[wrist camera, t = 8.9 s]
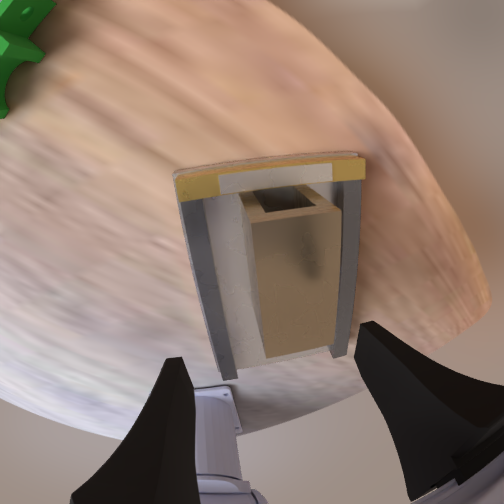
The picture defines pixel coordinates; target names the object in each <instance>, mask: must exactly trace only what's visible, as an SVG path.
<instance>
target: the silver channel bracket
mask: <svg viewBox="0 0 504 504" xmlns="http://www.w3.org/2000/svg"><path fill="white" fill-rule="evenodd" d="M172 176H173V181H174V187H175V192H176V197H177V203H178V208H179V213H180V218H181V223H182V228H183V233H184V237H185V242H186V247H187V251H188V256H189V260H190V264H191V269H192V273H193V277H194V281H195V286H196V290H197V294H198V298H199V302H200V306H201V310H202V314H203V317H204V321H205V325H206V329H207V332H208V336H209V340H210V343H211V347H212V351H213V354H214V358H215V361H216V365H217V368H218V371H219V372H221V375H222V378H223V381H225V380H232V379H238V375H237V369H243V368H249V367H255V366H260V365H266V364H271V363H276V362H281V361H286V360H291V359H296V358H300V357H305V356H309V355H313V354H317V353H322V352H326V351H330V353H331V355H332V357H333V358H337V357H341V356H345V355H346V354H347V348H348V342H349V335H350V328H351V321H352V314H353V306H354V297H355V288H356V278H357V267H358V254H359V239H360V219H361V179H365V158H361V157H358V153H355V152H352V151H341V152H323V153H308V154H296V155H285V156H275V157H265V158H256V159H248V160H240V161H233V162H226V163H219V164H212V165H206V166H200V167H194V168H188V169H182V170H177V171H174V172H173V174H172ZM297 185H307V186H309V187H310V188H311V189H313V190H314V191H316V192H317V193H318V194H320V195H321V196H323V197H324V198H325V199H327V200H328V201H329V202H331V203H332V204H333V205H335V206H336V207H337V208H339V209H340V210H341V211H342V216H341V255H340V275H339V291H338V304H337V316H336V327H335V337H334V344H331V345H327V346H323V347H319V348H315V349H310V350H306V351H302V352H297V353H292V354H288V355H283V356H278V357H273V358H268V359H266V356H265V352H264V348H263V345H262V341H261V337H260V333H259V329H258V325H257V321H256V317H255V313H254V309H253V303H252V296H251V288H250V281H249V273H248V265H247V257H246V250H245V242H244V234H243V226H242V218H241V210H240V202H239V194H238V193H243V192H250V191H252V192H253V193H254V195H255V196H256V198H257V200H258V201H259V203H260V205H261V206H262V208H263V210H264V211H265V213H268V212H275V211H282V210H289V209H294V195H293V186H297Z"/></svg>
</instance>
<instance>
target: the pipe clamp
mask: <svg viewBox="0 0 504 504" xmlns="http://www.w3.org/2000/svg"><path fill="white" fill-rule="evenodd" d="M55 5H56V3H55V2H53V1H52V0H2V1H1V3H0V119H3V118H5V116H6V114H7V113H8V111H9V108H8V107H7V105H6V102H5V87H6V84H7V81H8V79H9V77H10V75H11V73H12V72H13V71H14V69H15V68H16V67H17V66H18V65H20V64H21V63H23V62H25V61H32V62H36V63H39V62H40V61H41V60H42V58H43V57H44V56H45V53H44V52H43V51H42V50H41V49H40V48H38V47H37V46H36V45H35V44H34V43H33V42H31V41H30V40H29V39H28V38H29V36H30V35H31V34H32V33H33V31H34V30H35V29H36V27H37V26H38V25H39V24H40V23H41V21H42V20H43V19H44V18H45V17H46V15H47V14H48V13H49V12H50V11H51V10H52V9H53V8H54V6H55Z"/></svg>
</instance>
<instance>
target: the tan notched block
mask: <svg viewBox="0 0 504 504" xmlns="http://www.w3.org/2000/svg"><path fill="white" fill-rule="evenodd" d="M238 194H239V202H240V210H241V218H242V226H243V234H244V242H245V250H246V257H247V265H248V273H249V281H250V288H251V296H252V303H253V309H254V313H255V317H256V321H257V325H258V329H259V333H260V337H261V341H262V345H263V348H264V352H265V356H266V359H268V358H273V357H278V356H283V355H288V354H292V353H297V352H302V351H306V350H310V349H315V348H319V347H323V346H327V345H331V344H334V337H335V327H336V316H337V304H338V291H339V275H340V255H341V216H342V211H341V210H340V209H339V208H337V207H336V206H335V205H333V204H332V203H331V202H329V201H328V200H327V199H325V198H324V197H323V196H321V195H320V194H318V193H317V192H316V191H314V190H313V189H311V188H310V187H309V186H307V185H297V186H293V195H294V209H289V210H282V211H275V212H268V213H265V211H264V210H263V208H262V206H261V205H260V203H259V201H258V200H257V198H256V196H255V195H254V193H253V192H252V191H250V192H243V193H238Z"/></svg>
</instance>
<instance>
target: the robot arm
mask: <svg viewBox="0 0 504 504" xmlns="http://www.w3.org/2000/svg"><path fill="white" fill-rule="evenodd" d="M354 359H355V361H356V364H357V367H358V369H359V372H360V374H361V377H362V379H363V380H364V382H365V384H366V386H367V388H368V389H369V391H370V393H371V395H372V397H373V398H374V400H375V402H376V404H377V405H378V407H379V409H380V411H381V413H382V414H383V416H384V419H385V420H386V423H387V425H388V428H389V430H390V433H391V435H392V438H393V441H394V443H395V447H396V450H397V452H398V456H399V459H400V463H401V466H402V470H403V474H404V478H405V483H406V488H407V493H408V497H409V499H410V501H414V500H416V499H418V498H420V497H421V496H423V495H425V494H427V493H429V492H430V491H432V490H434V489H436V488H437V489H436V490H435V491H433V492H432V493H430V494H428V495H426V496H424V497H423V498H421V499H419V500H417V501H415V502H413V503H411V504H504V386H502V385H496V384H491V383H488V382H484V381H480V380H477V379H474V378H471V377H468V376H465V375H463V374H460V373H458V372H455V371H453V370H451V369H449V368H447V367H445V366H443V365H441V364H439V363H437V362H435V361H433V360H431V359H429V358H428V357H426V356H425V355H423V354H421V353H420V352H418V351H417V350H415V349H413V348H412V347H410V346H409V345H407V344H406V343H404V342H403V341H402V340H400V339H399V338H397V337H396V336H394V335H393V334H392V333H390V332H389V331H387V330H386V329H385V328H383V327H382V326H380V325H379V324H377V323H376V322H374V321H369V322H366V323H362V324H360V328H359V334H358V339H357V345H356V350H355V355H354ZM241 432H242V427H241V423H240V420H239V416H238V413H237V410H236V406H235V403H234V399H233V396H232V392H231V389H230V387H228V386H221V387H213V388H205V389H196V390H194V387H193V384H192V382H191V379H190V377H189V374H188V372H187V369H186V367H185V364H184V361H183V359H182V357H176V358H167V359H166V360H165V362H164V364H163V367H162V369H161V372H160V374H159V376H158V378H157V381H156V383H155V385H154V387H153V389H152V391H151V393H150V394H149V397H148V399H147V402H146V403H145V405H144V407H143V409H142V411H141V412H140V414H139V416H138V418H137V420H136V421H135V423H134V425H133V426H132V428H131V429H130V431H129V432H128V434H127V435H126V437H125V438H124V440H123V441H122V442H121V444H120V445H119V447H118V448H117V449H116V450H115V452H114V453H113V454H112V455H111V457H110V458H109V459H108V460H107V461H106V462H105V463H104V464H103V465H102V466H101V468H100V469H99V470H98V471H97V472H96V473H95V474H94V475H93V476H92V477H91V478H90V479H89V480H88V481H86V482H85V483H84V484H83V485H82V486H80V487H79V488H78V489H77V490H76V491H74V492H73V493H72V495H71V499H70V504H268V502H267V500H266V499H265V497H264V496H263V495H261V493H260V492H258V491H257V490H255V489H250V482H249V481H243V480H242V474H241V468H240V462H239V455H238V448H237V441H236V434H239V433H241Z"/></svg>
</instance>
